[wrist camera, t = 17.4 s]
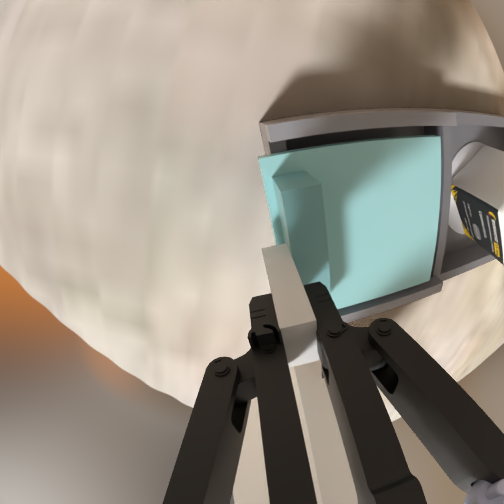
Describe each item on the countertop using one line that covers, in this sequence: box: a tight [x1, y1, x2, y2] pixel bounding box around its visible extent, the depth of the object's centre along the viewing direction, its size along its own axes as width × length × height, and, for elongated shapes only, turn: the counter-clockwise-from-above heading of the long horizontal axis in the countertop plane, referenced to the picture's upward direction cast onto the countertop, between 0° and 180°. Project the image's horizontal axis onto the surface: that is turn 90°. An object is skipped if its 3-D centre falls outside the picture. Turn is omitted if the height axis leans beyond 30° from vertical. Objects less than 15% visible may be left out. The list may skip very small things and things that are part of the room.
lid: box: [258, 135, 441, 309], centre depth 16 cm, size 12×13×4 cm
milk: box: [233, 358, 358, 504], centre depth 20 cm, size 12×12×26 cm
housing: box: [259, 108, 504, 323], centre depth 19 cm, size 16×28×5 cm, turn 102°
